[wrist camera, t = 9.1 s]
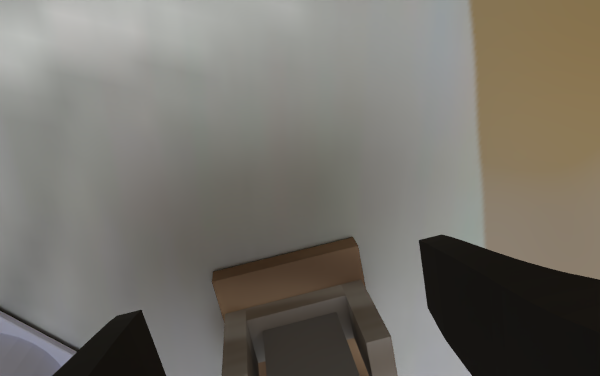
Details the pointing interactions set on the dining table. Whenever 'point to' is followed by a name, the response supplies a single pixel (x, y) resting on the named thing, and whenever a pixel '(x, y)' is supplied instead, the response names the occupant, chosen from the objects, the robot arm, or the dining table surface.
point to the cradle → (300, 306)
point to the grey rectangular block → (309, 349)
